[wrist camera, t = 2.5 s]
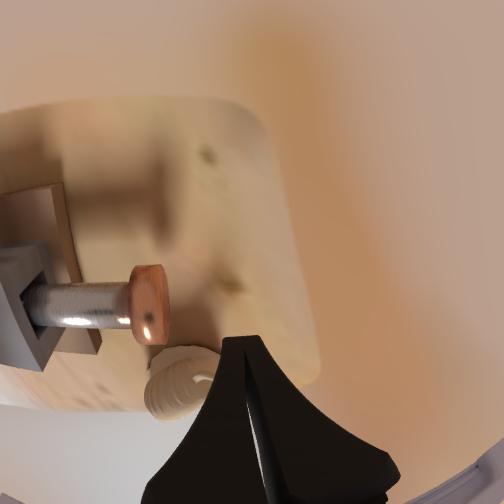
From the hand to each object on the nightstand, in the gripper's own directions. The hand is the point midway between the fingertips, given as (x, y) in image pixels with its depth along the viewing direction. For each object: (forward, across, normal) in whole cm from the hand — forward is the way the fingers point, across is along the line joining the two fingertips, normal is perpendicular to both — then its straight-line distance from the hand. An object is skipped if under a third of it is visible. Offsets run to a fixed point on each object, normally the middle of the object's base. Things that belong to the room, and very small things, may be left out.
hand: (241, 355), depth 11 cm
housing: (+8, +16, 0) cm, 17 cm away
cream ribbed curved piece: (+8, +4, +8) cm, 12 cm away
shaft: (+6, +9, 0) cm, 11 cm away
